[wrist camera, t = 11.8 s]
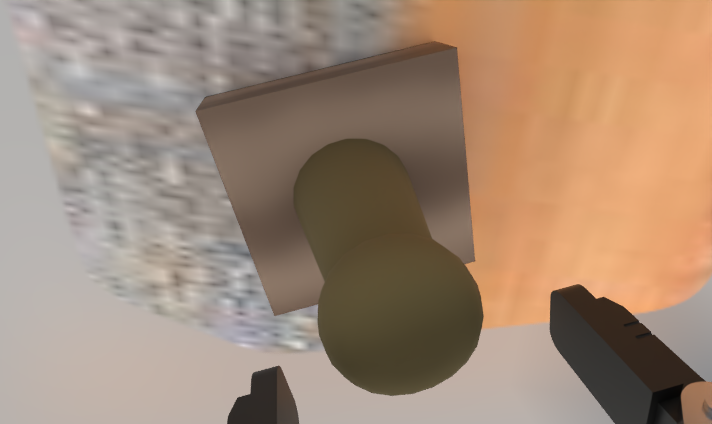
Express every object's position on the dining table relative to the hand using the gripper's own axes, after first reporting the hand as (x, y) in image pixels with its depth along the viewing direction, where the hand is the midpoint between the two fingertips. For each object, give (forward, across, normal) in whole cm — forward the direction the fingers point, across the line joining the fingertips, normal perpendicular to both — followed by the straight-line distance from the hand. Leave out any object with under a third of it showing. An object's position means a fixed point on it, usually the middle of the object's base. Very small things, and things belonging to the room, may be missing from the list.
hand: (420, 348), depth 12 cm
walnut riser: (+14, 0, 0) cm, 14 cm away
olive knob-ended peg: (+11, 0, 0) cm, 11 cm away
